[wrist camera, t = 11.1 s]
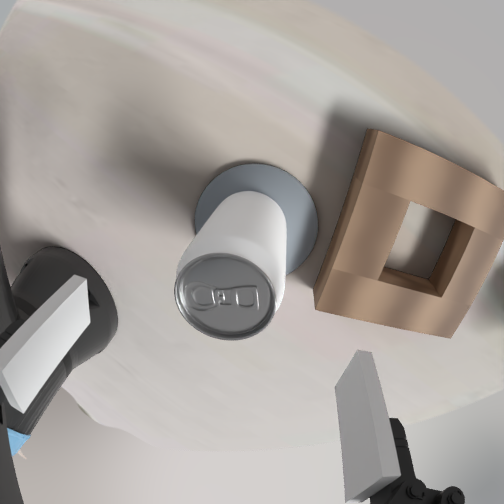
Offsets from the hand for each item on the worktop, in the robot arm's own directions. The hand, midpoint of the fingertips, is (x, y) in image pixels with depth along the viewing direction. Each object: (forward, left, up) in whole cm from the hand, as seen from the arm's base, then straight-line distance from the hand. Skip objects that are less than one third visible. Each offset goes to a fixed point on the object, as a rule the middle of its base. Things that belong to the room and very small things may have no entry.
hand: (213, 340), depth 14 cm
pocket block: (+15, +3, -16) cm, 22 cm away
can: (0, 0, -15) cm, 15 cm away
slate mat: (0, 0, -16) cm, 16 cm away
